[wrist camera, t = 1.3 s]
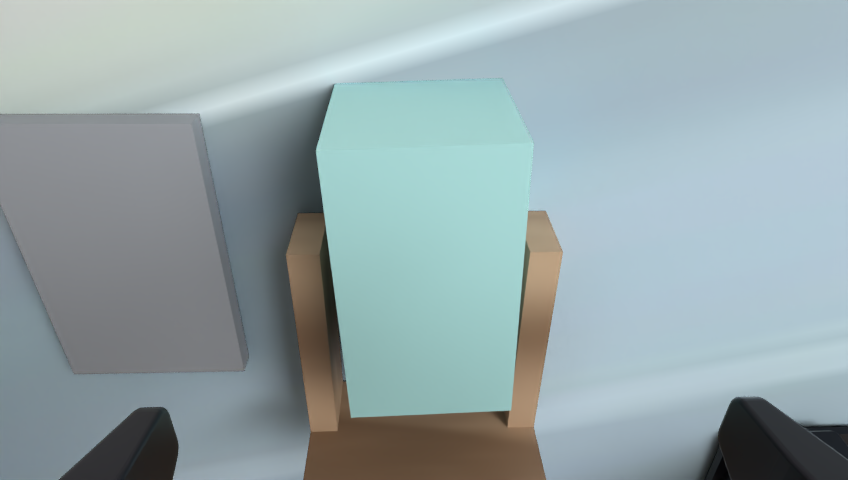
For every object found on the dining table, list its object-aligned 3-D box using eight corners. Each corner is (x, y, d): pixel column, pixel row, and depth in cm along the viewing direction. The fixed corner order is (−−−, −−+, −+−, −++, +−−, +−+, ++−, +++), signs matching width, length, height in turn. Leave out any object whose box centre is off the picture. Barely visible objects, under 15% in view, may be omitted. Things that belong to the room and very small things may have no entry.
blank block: (490, 308, 23) (510, 410, 18) (359, 313, 22) (351, 417, 18) (501, 76, 18) (534, 143, 14) (335, 81, 18) (315, 151, 13)
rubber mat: (248, 356, 23) (244, 370, 22) (83, 359, 23) (73, 374, 22) (199, 113, 18) (191, 123, 17) (-19, 114, 18) (-35, 124, 17)
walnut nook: (519, 395, 25) (543, 503, 21) (320, 398, 25) (304, 509, 20) (545, 211, 20) (584, 303, 16) (297, 212, 20) (270, 308, 16)
